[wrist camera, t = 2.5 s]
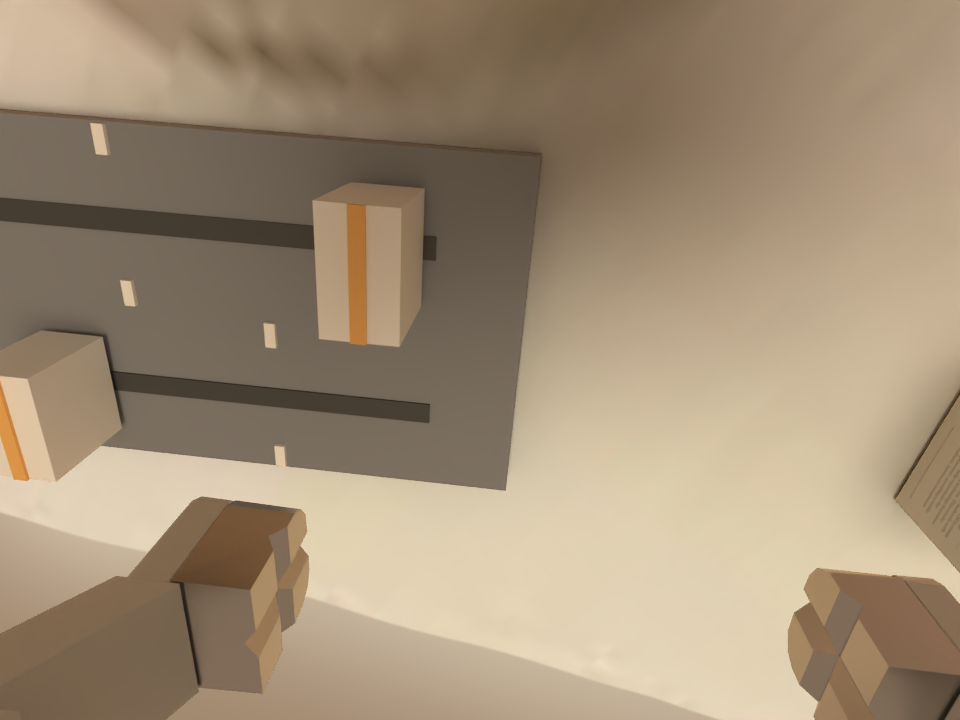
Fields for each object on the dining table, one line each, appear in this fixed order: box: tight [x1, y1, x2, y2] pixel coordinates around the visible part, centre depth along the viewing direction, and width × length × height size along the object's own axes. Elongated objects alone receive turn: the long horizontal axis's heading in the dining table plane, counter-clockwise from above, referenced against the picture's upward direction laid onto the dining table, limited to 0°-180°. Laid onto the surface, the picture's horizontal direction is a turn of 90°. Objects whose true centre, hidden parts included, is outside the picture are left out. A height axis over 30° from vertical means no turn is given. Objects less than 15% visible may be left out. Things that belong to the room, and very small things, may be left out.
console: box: [0, 109, 542, 491], centre depth 28 cm, size 28×16×2 cm, turn 86°
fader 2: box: [312, 182, 425, 347], centre depth 23 cm, size 3×5×5 cm, turn 176°
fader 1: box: [0, 331, 122, 482], centre depth 27 cm, size 3×5×5 cm, turn 176°
